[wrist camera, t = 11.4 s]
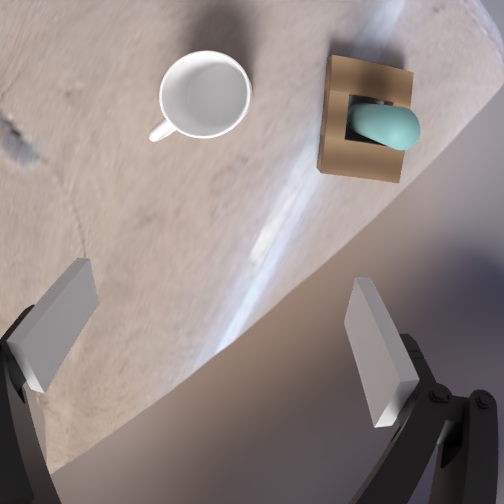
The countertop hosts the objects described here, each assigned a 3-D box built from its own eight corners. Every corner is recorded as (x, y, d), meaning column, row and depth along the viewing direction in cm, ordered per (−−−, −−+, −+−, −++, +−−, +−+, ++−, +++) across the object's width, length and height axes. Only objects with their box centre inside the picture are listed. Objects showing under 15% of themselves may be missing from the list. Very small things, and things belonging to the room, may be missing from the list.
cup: (266, 103, 35) (269, 104, 26) (186, 159, 39) (163, 178, 30) (226, 49, 32) (215, 33, 23) (147, 108, 36) (113, 113, 27)
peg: (348, 100, 35) (383, 102, 24) (378, 105, 35) (422, 111, 24) (344, 131, 37) (378, 146, 26) (374, 136, 37) (416, 153, 26)
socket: (327, 57, 32) (332, 54, 30) (403, 73, 33) (413, 72, 30) (316, 167, 39) (321, 173, 36) (390, 177, 39) (398, 183, 36)
